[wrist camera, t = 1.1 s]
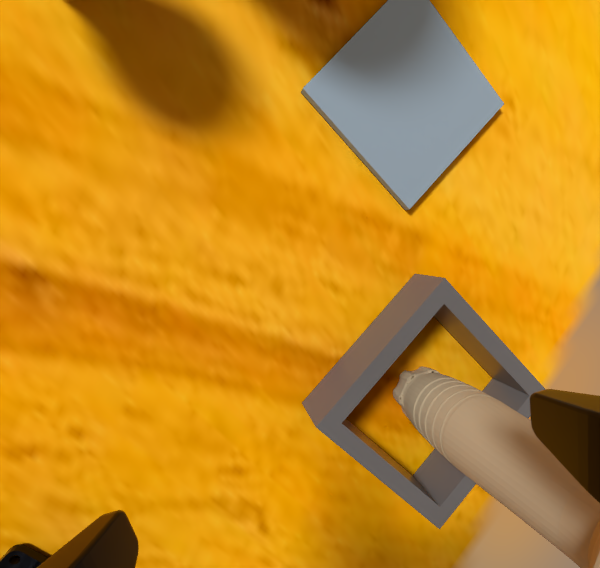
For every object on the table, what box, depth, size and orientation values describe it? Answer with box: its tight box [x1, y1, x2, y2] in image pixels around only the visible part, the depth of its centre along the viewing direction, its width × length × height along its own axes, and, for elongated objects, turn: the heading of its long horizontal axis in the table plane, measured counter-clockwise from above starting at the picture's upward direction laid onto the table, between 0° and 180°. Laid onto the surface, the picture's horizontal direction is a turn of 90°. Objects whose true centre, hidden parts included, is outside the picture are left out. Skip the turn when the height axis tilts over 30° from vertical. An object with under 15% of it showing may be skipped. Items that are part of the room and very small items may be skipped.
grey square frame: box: [302, 274, 546, 529], centre depth 22 cm, size 10×10×3 cm
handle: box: [393, 367, 600, 568], centre depth 17 cm, size 5×6×15 cm
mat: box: [301, 0, 504, 210], centre depth 21 cm, size 9×9×1 cm
